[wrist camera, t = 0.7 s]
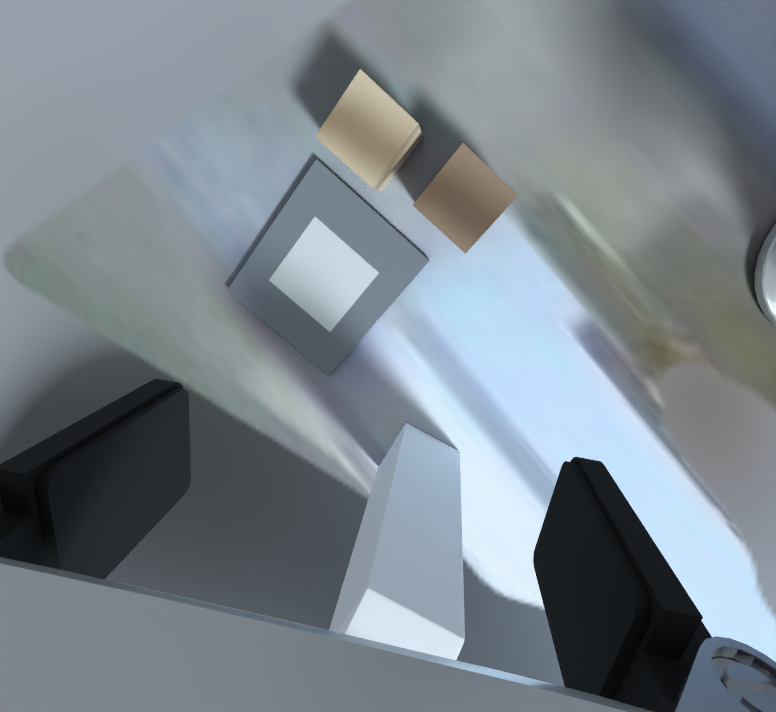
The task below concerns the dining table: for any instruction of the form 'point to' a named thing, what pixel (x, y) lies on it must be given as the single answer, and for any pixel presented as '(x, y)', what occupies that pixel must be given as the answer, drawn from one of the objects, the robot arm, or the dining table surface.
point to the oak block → (370, 132)
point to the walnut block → (464, 198)
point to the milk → (409, 552)
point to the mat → (326, 269)
